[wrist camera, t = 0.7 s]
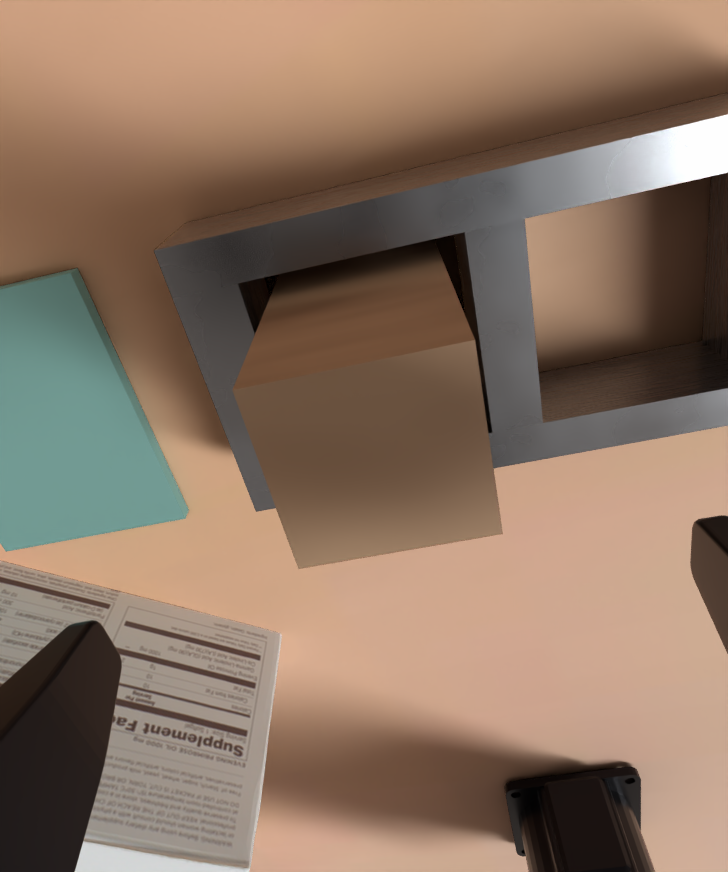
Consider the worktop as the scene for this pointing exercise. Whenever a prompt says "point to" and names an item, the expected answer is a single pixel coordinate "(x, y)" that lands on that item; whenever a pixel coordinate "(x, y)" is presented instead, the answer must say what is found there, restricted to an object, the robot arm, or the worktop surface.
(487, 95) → the worktop surface
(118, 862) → the supplement box
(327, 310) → the peg
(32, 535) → the mat
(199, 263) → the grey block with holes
